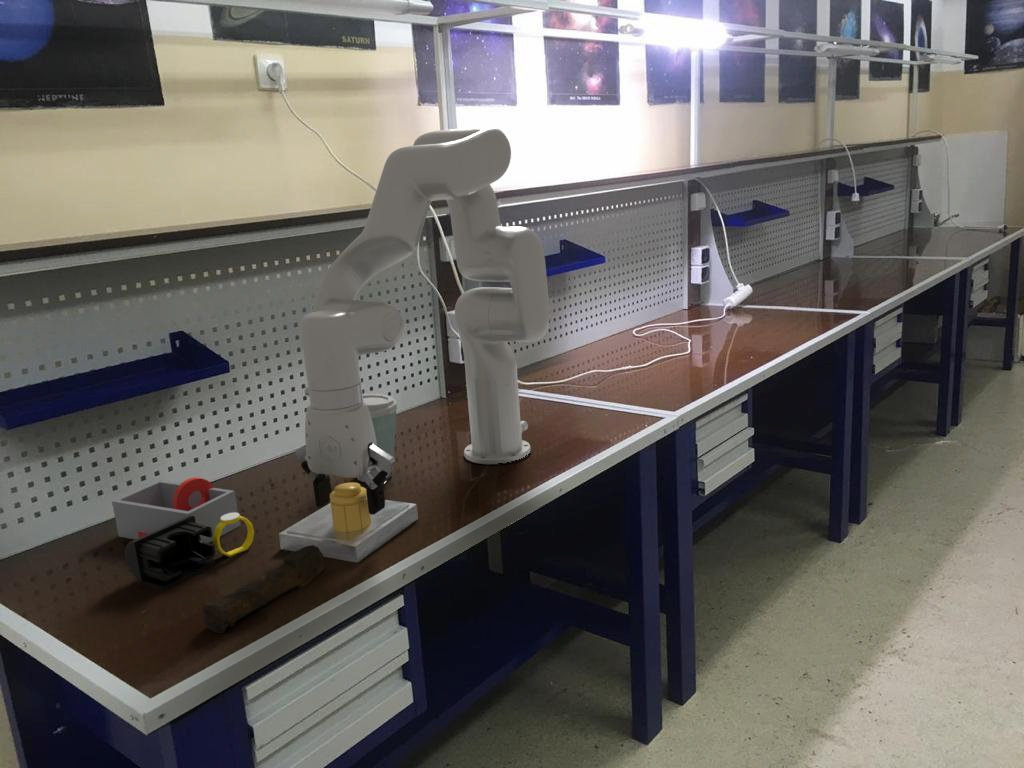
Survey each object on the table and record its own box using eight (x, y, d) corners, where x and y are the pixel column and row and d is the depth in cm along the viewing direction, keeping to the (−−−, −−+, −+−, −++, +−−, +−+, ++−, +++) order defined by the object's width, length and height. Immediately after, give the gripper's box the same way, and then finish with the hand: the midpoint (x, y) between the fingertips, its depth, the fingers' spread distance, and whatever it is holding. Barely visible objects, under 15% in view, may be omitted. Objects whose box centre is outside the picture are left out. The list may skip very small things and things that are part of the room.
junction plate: (346, 508, 143) (342, 474, 141) (418, 518, 136) (414, 483, 135) (281, 549, 129) (275, 511, 128) (357, 562, 123) (352, 523, 121)
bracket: (206, 512, 144) (198, 467, 142) (220, 518, 141) (212, 473, 139) (136, 539, 136) (126, 492, 134) (150, 546, 133) (140, 498, 131)
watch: (224, 563, 126) (215, 527, 125) (214, 558, 128) (205, 522, 126) (260, 546, 130) (251, 510, 129) (250, 541, 132) (241, 506, 131)
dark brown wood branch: (222, 639, 106) (217, 604, 104) (203, 630, 108) (197, 596, 107) (338, 575, 120) (334, 544, 119) (319, 568, 123) (315, 538, 121)
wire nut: (348, 514, 133) (344, 478, 132) (377, 519, 131) (373, 482, 129) (326, 528, 128) (321, 491, 127) (355, 533, 126) (351, 495, 124)
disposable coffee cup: (374, 463, 164) (365, 386, 160) (417, 471, 158) (409, 392, 154) (333, 482, 155) (323, 401, 152) (377, 491, 149) (367, 408, 146)
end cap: (188, 553, 130) (181, 511, 128) (220, 562, 126) (212, 519, 125) (129, 582, 122) (120, 538, 120) (161, 593, 118) (152, 547, 117)
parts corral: (166, 513, 146) (160, 480, 145) (240, 525, 139) (234, 490, 137) (118, 536, 138) (111, 501, 137) (194, 550, 131) (188, 513, 129)
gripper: (272, 400, 125) (288, 510, 130) (370, 407, 117) (384, 524, 122) (306, 386, 132) (320, 491, 136) (401, 393, 124) (413, 504, 128)
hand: (350, 507), depth 129 cm, fingers open, 9 cm apart
